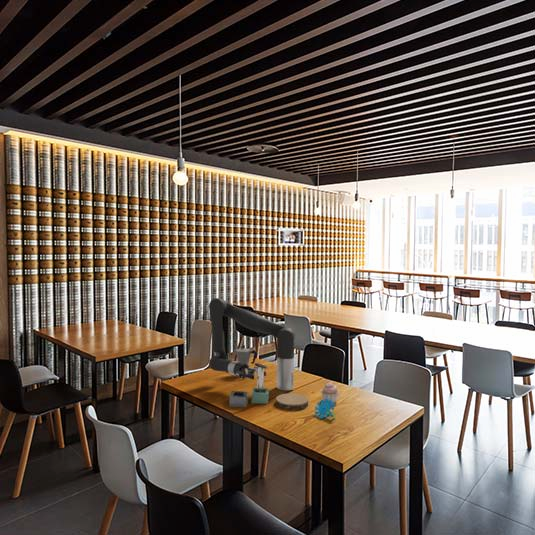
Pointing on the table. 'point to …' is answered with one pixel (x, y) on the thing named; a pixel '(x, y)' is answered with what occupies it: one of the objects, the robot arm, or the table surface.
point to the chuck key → (260, 377)
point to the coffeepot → (245, 355)
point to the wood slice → (292, 401)
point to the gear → (325, 409)
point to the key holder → (260, 396)
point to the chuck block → (238, 399)
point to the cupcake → (330, 392)
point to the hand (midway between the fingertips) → (259, 375)
